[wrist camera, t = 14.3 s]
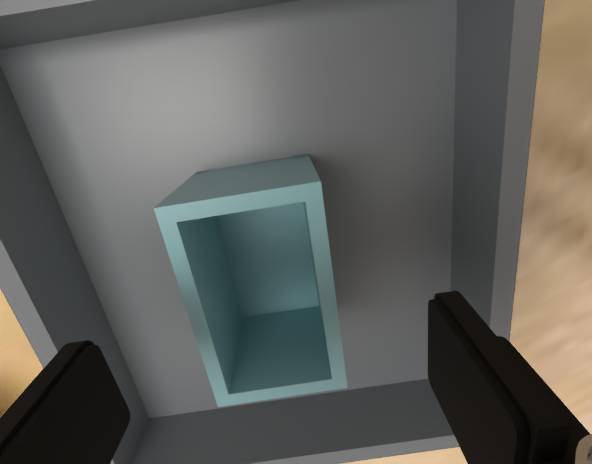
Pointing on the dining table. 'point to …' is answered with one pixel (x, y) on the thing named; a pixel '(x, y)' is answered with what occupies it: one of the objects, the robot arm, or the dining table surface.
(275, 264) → the teal crate
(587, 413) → the dining table surface
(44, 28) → the tray
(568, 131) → the dining table surface
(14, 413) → the robot arm
